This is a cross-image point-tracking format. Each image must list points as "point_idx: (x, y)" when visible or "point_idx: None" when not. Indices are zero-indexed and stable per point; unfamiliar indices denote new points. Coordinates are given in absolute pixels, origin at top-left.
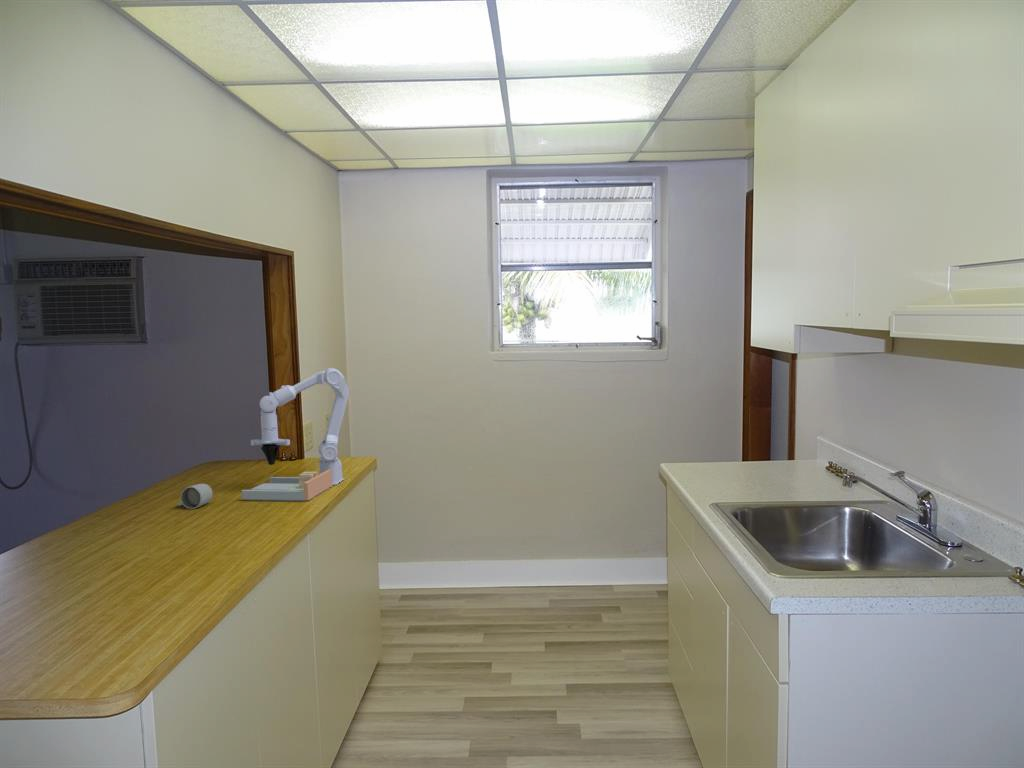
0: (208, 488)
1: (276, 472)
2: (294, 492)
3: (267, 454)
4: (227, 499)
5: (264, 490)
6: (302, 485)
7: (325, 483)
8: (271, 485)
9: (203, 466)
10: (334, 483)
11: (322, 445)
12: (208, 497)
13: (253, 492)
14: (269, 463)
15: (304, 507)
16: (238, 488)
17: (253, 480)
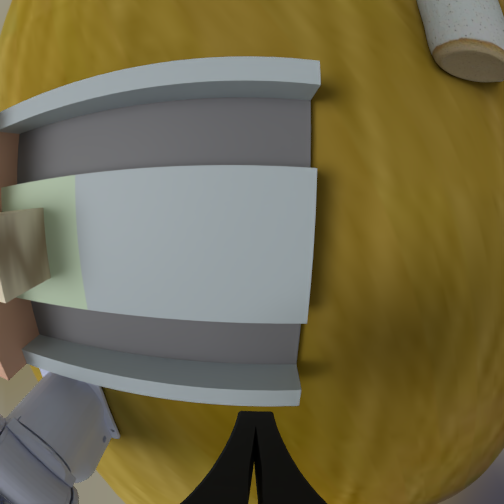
0: (455, 17)
1: (345, 490)
2: (25, 101)
3: (272, 484)
4: (398, 115)
5: (167, 76)
6: (22, 210)
7: None
8: (225, 273)
9: (497, 455)
10: None
11: (17, 497)
12: (426, 17)
13: (235, 59)
14: (261, 417)
15: (17, 60)
16: (428, 322)
17: (397, 426)
